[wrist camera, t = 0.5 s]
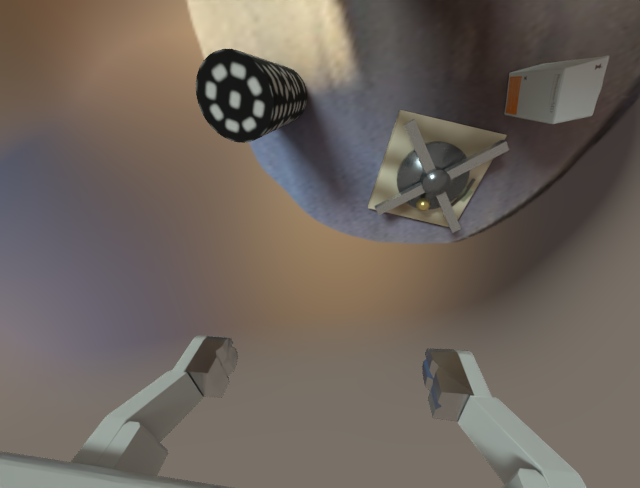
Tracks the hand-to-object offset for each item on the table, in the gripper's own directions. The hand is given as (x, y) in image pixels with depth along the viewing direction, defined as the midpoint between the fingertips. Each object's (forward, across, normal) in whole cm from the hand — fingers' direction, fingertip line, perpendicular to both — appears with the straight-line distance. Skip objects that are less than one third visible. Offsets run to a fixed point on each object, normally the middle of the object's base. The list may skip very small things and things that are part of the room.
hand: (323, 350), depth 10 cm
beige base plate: (+42, -15, +5) cm, 45 cm away
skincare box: (+42, -27, -7) cm, 50 cm away
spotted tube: (+42, +11, -10) cm, 44 cm away
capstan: (+40, -15, +5) cm, 43 cm away
